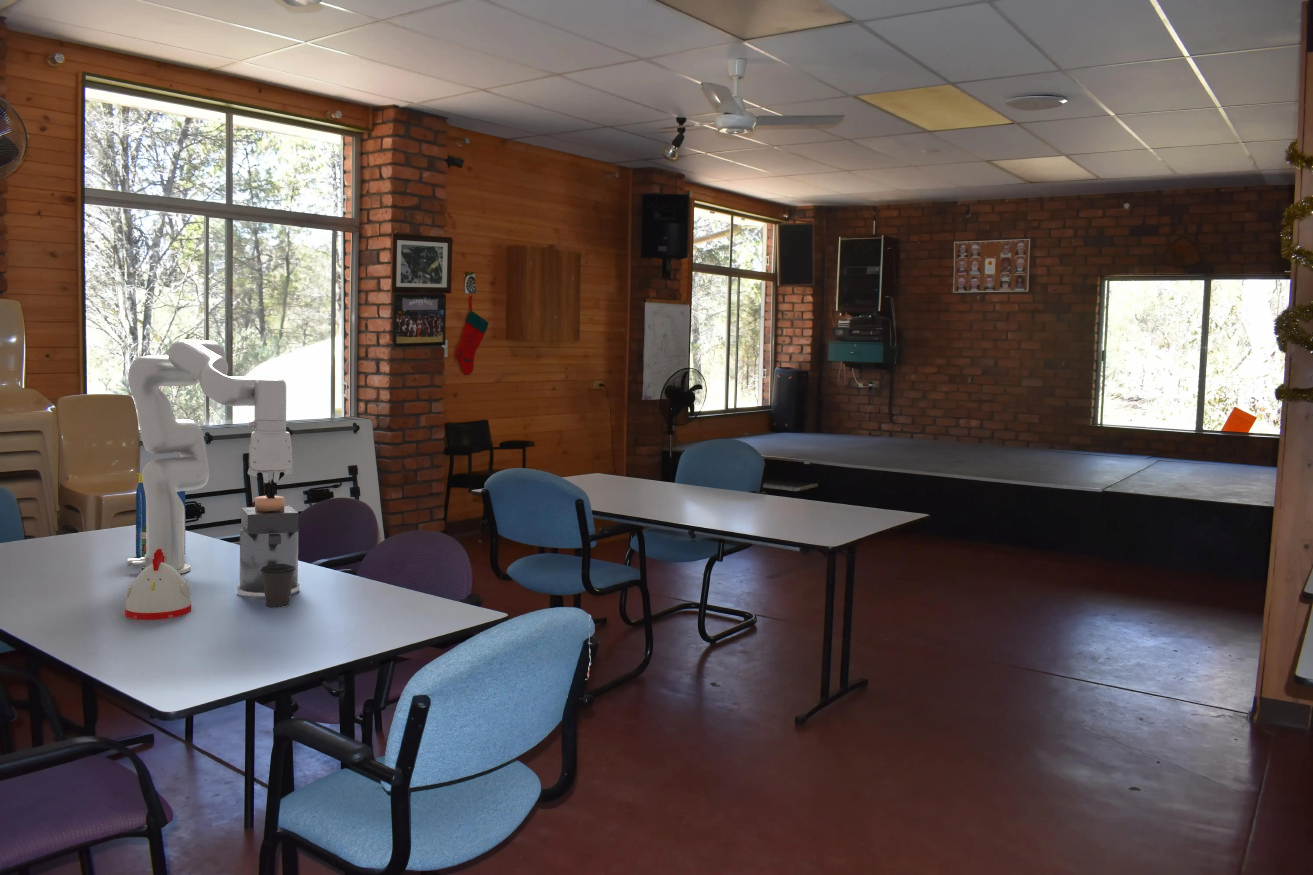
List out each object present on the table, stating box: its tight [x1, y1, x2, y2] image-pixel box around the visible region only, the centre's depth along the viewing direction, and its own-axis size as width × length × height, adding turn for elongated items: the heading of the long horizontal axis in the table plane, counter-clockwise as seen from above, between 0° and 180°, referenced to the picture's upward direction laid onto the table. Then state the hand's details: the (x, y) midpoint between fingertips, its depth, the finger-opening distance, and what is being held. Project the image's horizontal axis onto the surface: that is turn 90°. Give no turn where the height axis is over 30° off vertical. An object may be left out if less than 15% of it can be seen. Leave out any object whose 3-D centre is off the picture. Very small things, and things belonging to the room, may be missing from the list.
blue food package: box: [135, 473, 186, 559], centre depth 286 cm, size 6×12×25 cm, turn 133°
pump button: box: [254, 495, 285, 511], centre depth 247 cm, size 7×7×8 cm
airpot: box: [236, 505, 301, 600], centre depth 247 cm, size 15×18×22 cm
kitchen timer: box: [124, 549, 192, 621], centre depth 226 cm, size 14×14×15 cm
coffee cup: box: [260, 564, 295, 609], centre depth 237 cm, size 8×8×10 cm
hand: (270, 497), depth 247 cm, fingers closed
